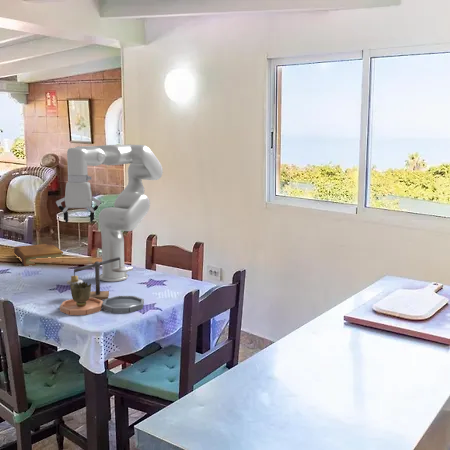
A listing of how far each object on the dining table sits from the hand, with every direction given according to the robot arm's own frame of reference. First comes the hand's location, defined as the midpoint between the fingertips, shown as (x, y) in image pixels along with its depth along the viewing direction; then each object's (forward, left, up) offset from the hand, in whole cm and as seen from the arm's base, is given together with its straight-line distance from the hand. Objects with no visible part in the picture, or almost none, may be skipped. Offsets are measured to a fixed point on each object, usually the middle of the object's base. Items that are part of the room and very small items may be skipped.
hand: (79, 221), depth 214 cm
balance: (+1, +13, -28) cm, 31 cm away
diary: (-15, -60, -29) cm, 68 cm away
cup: (+13, +20, -27) cm, 36 cm away
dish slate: (+1, +29, -28) cm, 40 cm away
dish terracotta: (+13, +20, -28) cm, 37 cm away
